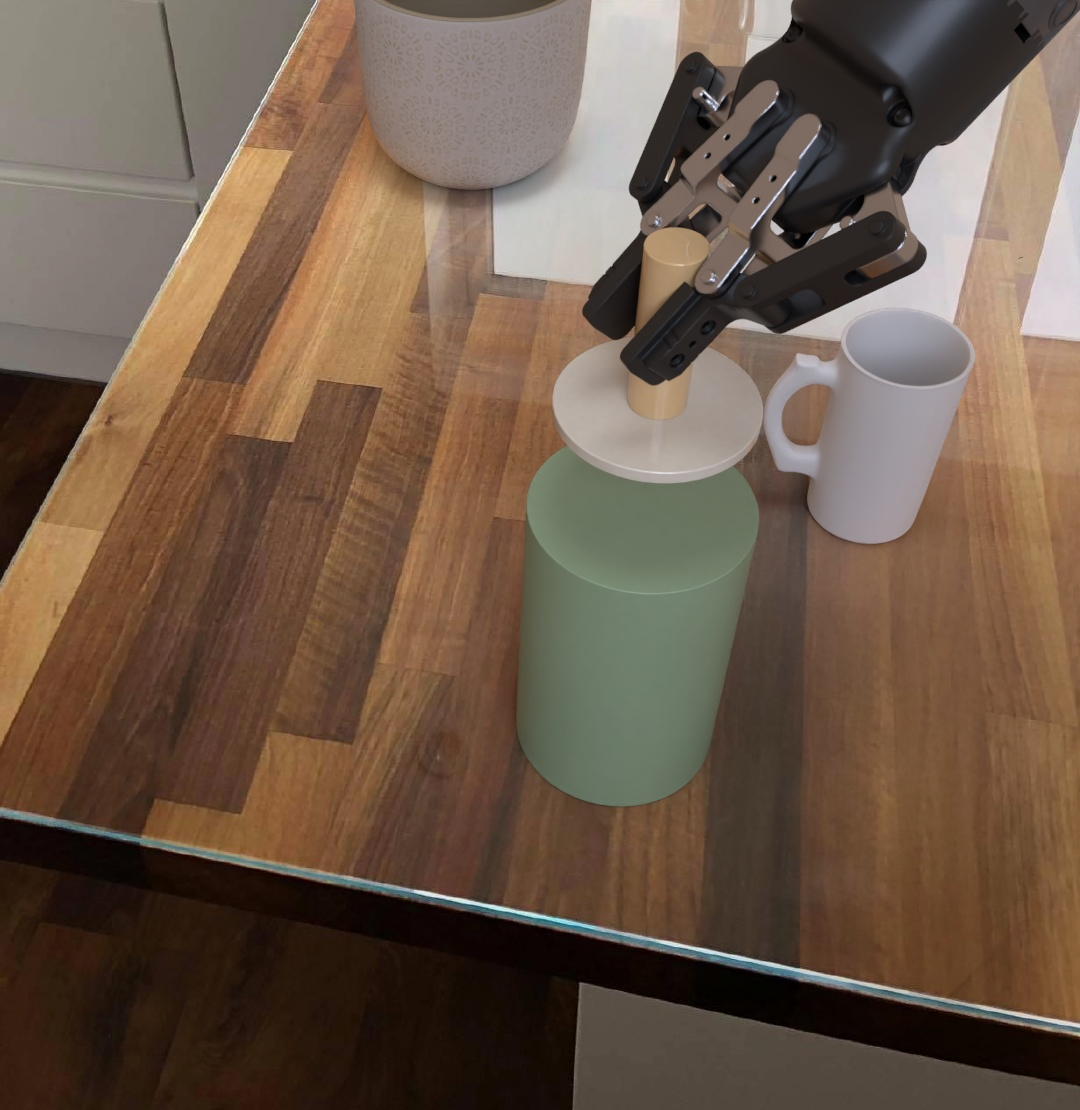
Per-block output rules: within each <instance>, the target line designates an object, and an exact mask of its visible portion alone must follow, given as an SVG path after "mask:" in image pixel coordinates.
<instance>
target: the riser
mask: <svg viewBox="0 0 1080 1110" xmlns="http://www.w3.org/2000/svg"><path fill="white" fill-rule="evenodd" d="M524 519H525V522H524V540H523V541H524V543H523V562H522V565H523V566H522V583H521V605H520V625H519V648H518V649H519V650H518V667H517V689H516V690H517V691H516V709H515V710H516V712H515V729H516V733H517V739H518V741H519V744H520V747H521V750H522V752H523V754H524V755H525V757H526V759H527V760H528V762H529V763H530V765H531V766H532V767H533V768H534V770H535V771H536V772H537V773H538V774H539V775H540V776H541V777H542V778H543V779H544V780H545V781H547V782H548V783H549V784H550V785H552V786H553V787H555V788H556V789H558V790H559V791H560V792H563V793H565V794H567V795H568V796H571V797H573V798H576V799H578V800H581V801H584V802H585V803H586V802H587V803H591V804H595V805H599V806H608V807H635V806H642V805H646V804H651V803H654V802H657V801H660V800H663V799H665V798H667V797H669V796H671V795H674V794H675V793H676V792H678V791H680V790H681V789H683V788H684V787H685V786H686V785H687V784H689V782H690V781H692V780H693V779H694V777H695V776H696V775H697V774H698V773H699V772H700V770H701V769H702V767H703V765H704V763H705V762H706V759H707V756H708V754H709V751H710V747H711V742H712V737H713V734H714V730H715V724H716V721H717V715H718V711H719V707H720V703H721V698H722V694H723V690H724V689H723V688H724V684H725V680H726V676H727V671H728V667H729V663H730V658H731V654H732V649H733V644H734V640H735V637H736V633H737V632H736V631H737V627H738V622H739V619H740V614H741V609H742V604H743V600H744V595H745V591H746V587H747V583H748V577H749V574H750V568H751V564H752V560H753V556H754V551H755V547H756V542H757V538H758V533H759V529H760V510H759V506H758V502H757V499H756V496H755V493H754V491H753V489H752V488H751V486H750V484H749V481H747V480H746V478H745V477H744V476H743V475H742V473H741V472H740V471H739V470H738V469H737V468H736V467H735V465H734V466H732V467H730V468H728V469H726V470H725V471H723V472H720V473H718V474H716V475H713V476H710V477H707V478H704V479H700V480H695V481H690V482H684V483H672V484H662V483H647V482H640V481H634V480H629V479H625V478H622V477H618V476H615V475H612V474H610V473H607V472H605V471H602V470H600V469H598V468H596V467H594V466H592V465H591V464H589V463H588V462H586V461H585V460H583V459H581V458H580V457H579V456H578V455H577V454H575V453H574V452H573V451H572V450H571V449H570V448H569V447H568V446H567V445H565V446H563V447H562V448H560V449H559V450H557V451H556V452H555V453H553V454H552V455H550V457H549V458H547V459H546V460H545V461H544V462H543V463H542V464H541V466H540V467H539V468H538V469H537V471H536V473H535V474H534V476H533V478H532V479H531V481H530V484H529V487H528V490H527V495H526V501H525V518H524Z"/></svg>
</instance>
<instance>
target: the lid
mask: <svg viewBox="0 0 1080 1110" xmlns="http://www.w3.org/2000/svg"><path fill="white" fill-rule="evenodd" d="M710 255H711V243H710V244H709V242H708V240H707V239H706V238H705V237H704V236H703V235H701V234H700V233H698V232H696V231H693V230H690V229H686V228H679V227H670V228H663V229H659V230H657V231H655V232H653V233H651V234H650V235H649V236H648V237H647V238H646V240H645V242H644V247H643V256H642V265H641V274H640V284H639V293H638V302H637V311H636V320H635V326H634V330H633V331H634V332H633V336H629V337H623V338H622V339H619V340H609V341H606V342H603V343H600V344H597V345H595V346H592V347H591V348H588V349H587V350H585V351H583V352H581V353H580V354H578V355H577V356H575V357H574V358H573V359H572V360H571V361H570V362H569V363H567V364H566V365H565V367H564V368H563V369H562V370H561V372H560V374H559V375H558V377H557V378H556V380H555V383H554V386H553V387H552V395H551V417H552V421H553V424H554V427H555V429H556V431H557V433H558V435H559V437H560V438H561V439H562V441H563V443H564V444H566V445H565V446H568V447H569V448H570V449H571V450H572V451H573V452H574V453H575V454H577V455H578V456H579V457H580V458H581V459H583V460H585V461H586V462H588V463H589V464H591V465H592V466H594V467H596V468H598V469H600V470H602V471H605V472H607V473H610V474H612V475H615V476H618V477H622V478H625V479H629V480H634V481H640V482H647V483H662V484H672V483H684V482H690V481H695V480H700V479H704V478H707V477H710V476H713V475H716V474H718V473H720V472H723V471H725V470H726V469H728V468H730V467H732V466H734V467H735V465H736V464H738V463H739V462H740V461H742V459H744V458H745V457H746V456H747V455H748V454H749V453H750V452H751V451H752V449H753V447H754V446H755V445H756V443H757V441H758V439H759V436H760V433H761V430H762V429H761V428H762V424H763V411H764V403H763V399H762V395H761V393H760V390H759V389H758V386H757V384H756V383H755V381H754V379H752V377H751V376H750V375H749V374H748V372H747V371H746V370H744V369H743V367H741V365H739V364H738V363H737V362H735V361H734V360H732V359H731V358H730V357H728V356H727V355H725V354H723V353H721V352H720V351H717V350H715V349H713V348H711V347H709V346H707V348H706V349H705V350H704V351H703V352H702V353H701V354H699V356H698V357H697V358H696V359H695V360H694V361H693V362H691V365H690V366H689V367H688V368H687V369H686V370H685V371H684V372H683V373H682V374H681V375H680V376H678V377H676V378H674V379H672V380H671V381H667V380H665V381H664V382H662V383H661V384H659V385H655V386H652V385H649V384H648V383H646V382H645V381H643V380H642V379H640V378H638V377H637V376H635V375H634V374H632V373H631V372H630V371H629V370H628V369H627V368H626V366H625V365H624V364H623V363H622V362H621V360H620V354H621V351H622V350H623V348H624V347H625V346H626V345H627V344H628V343H629V342H630V341H631V340H632V338H633V337H634V336H635V335H636V334H637V333H638V332H639V331H640V330H641V329H642V327H643V326H644V325H645V324H646V323H647V322H648V321H649V320H650V319H651V318H652V316H653V315H654V314H655V313H656V312H657V311H658V310H659V309H660V308H661V307H662V306H663V304H664V303H665V302H666V301H667V300H668V299H669V298H670V297H671V296H672V295H673V293H674V292H675V291H676V290H677V289H678V288H679V287H680V286H681V285H682V284H683V282H684V281H685V282H686V283H688V284H689V285H690V286H692V287H693V288H694V287H695V277H696V274H697V273H698V271H699V270H700V268H701V267H702V266H703V264H704V263H705V262H706V260H707V259H708V258H709V257H710Z"/></svg>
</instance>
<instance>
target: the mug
mask: <svg viewBox="0 0 1080 1110" xmlns="http://www.w3.org/2000/svg"><path fill="white" fill-rule="evenodd" d="M839 345H840V346H839V349H838V352H837V354H836V356H835V357H834V358H833V359H832V360H828V361H827V360H826V361H825V360H821V359H819V357H818V356H817V355H815V354H805V353H800V352H797V353H796V354H795V356H794V357H793V360H792V362H791V363H790V365H789V366H788V367H787V368H786V369H785V371H783V373H782V374H781V375H780V377H779V378H778V379H777V381H776V382H775V383H774V385H773V386H772V387H771V388H770V391H769V393H768V394H767V397H766V398H765V402H764V404H763V420H762V424H763V431H764V435H765V438H766V441H767V443H768V444H767V445H768V447H769V450H770V453H771V456H772V460H773V463H774V465H775V467H776V469H777V470H778V471H780V472H784V473H799V474H803V475H806V476H808V477H809V478H810V480H809V485H808V490H807V494H806V503H807V507H808V510H809V513H810V514H811V516H812V518H813V519H814V520H815V522H817V524H818V525H819V526H820V527H821V528H823V529H824V530H825V531H827V532H828V533H830V534H831V535H834V536H835V537H838V538H840V539H843V540H846V541H849V542H853V543H857V544H864V545H865V544H866V545H875V544H876V545H877V544H884V543H887V542H888V543H889V542H891V541H894V540H896V539H898V538H900V537H902V536H904V535H905V534H906V533H907V532H908V531H910V530H911V528H912V526H913V524H914V522H915V521H916V518H917V516H918V513H919V510H920V508H921V506H922V503H923V501H924V499H925V495H926V493H927V490H928V488H929V485H930V482H931V479H932V476H933V474H934V472H935V468H936V466H937V463H938V460H939V459H940V458H939V457H940V455H941V453H942V450H943V447H944V445H945V442H946V439H947V437H948V434H949V431H950V429H951V427H952V424H953V421H954V418H955V415H956V413H957V410H958V407H959V405H960V402H961V399H962V397H963V394H964V391H965V389H966V385H967V383H968V380H969V376H970V373H971V371H972V369H973V367H974V364H975V360H976V351H975V347H974V345H973V343H972V341H971V340H970V339H969V337H968V336H967V335H966V333H965V332H964V331H962V330H961V329H960V328H959V327H958V326H957V325H955V324H953V322H951V321H948V320H947V319H945V318H943V317H941V316H939V315H936V314H933V313H930V312H927V311H924V310H919V309H914V308H906V307H884V308H878V309H873V310H869V311H866V312H863V313H861V314H859V315H858V316H856V317H854V318H852V319H851V320H850V321H848V323H847V324H846V325H845V326H844V329H843V331H842V333H841V336H840V344H839ZM811 385H821V386H825V387H827V388H829V389H830V390H829V394H828V398H827V403H826V408H825V413H824V417H823V421H822V426H821V429H820V434H819V437H818V440H817V441H816V443H814V444H810V445H801V444H800V445H799V444H795V443H794V442H792V441H791V440H790V439H789V438H788V437H787V435H786V433H785V432H784V429H783V412H784V410H785V406H786V404H787V402H788V401H789V400H790V398H791V397H792V396H793V395H794V394H795V393H797V391H799V390H801V389H802V388H804V387H807V386H811Z"/></svg>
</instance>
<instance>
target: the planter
mask: <svg viewBox="0 0 1080 1110" xmlns="http://www.w3.org/2000/svg"><path fill="white" fill-rule="evenodd" d="M592 2H593V0H353V7H354V16H355V28H356V37H357V38H356V39H357V51H358V60H359V69H360V71H359V72H360V80H361V86H362V87H361V88H362V94H363V101H364V105H365V109H366V114H367V117H368V122H369V126H370V129H371V131H372V133H373V135H374V138H375V139H376V142H377V144H378V145H379V146H380V148H381V149H382V150H383V152H384V153H385V154H386V155H387V157H388V158H390V159H391V160H392V161H393V162H394V163H395V165H398V166H399V167H400V168H401V169H403V170H404V171H405V172H407V173H409V174H410V175H412V176H414V177H416V178H418V179H420V180H422V181H424V182H427V183H430V184H433V185H435V186H439V187H442V188H449V189H454V190H467V191H468V190H470V191H472V190H473V191H476V190H486V189H487V190H488V189H493V188H494V189H495V188H499V187H502V186H507V185H509V184H512V183H515V182H517V181H520V180H522V179H524V178H526V177H528V176H530V175H532V174H533V173H535V172H536V171H538V170H539V169H541V168H543V167H544V166H545V165H546V164H547V163H549V161H551V160H552V159H553V158H554V157H555V156H557V154H558V153H559V152H560V151H561V150H562V148H563V146H564V145H565V144H566V142H567V140H568V139H569V138H570V135H571V133H572V131H573V128H574V126H575V122H576V120H577V117H578V113H579V107H580V103H581V98H582V93H583V85H584V77H585V70H586V62H587V54H588V44H589V43H588V41H589V32H590V31H589V30H590V22H591V13H592Z"/></svg>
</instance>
